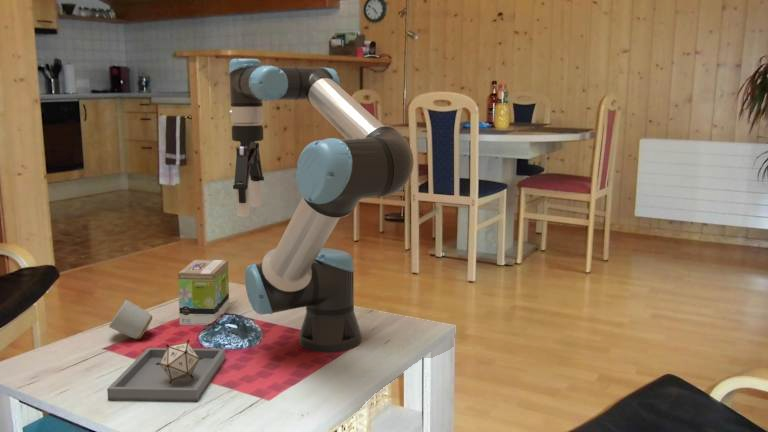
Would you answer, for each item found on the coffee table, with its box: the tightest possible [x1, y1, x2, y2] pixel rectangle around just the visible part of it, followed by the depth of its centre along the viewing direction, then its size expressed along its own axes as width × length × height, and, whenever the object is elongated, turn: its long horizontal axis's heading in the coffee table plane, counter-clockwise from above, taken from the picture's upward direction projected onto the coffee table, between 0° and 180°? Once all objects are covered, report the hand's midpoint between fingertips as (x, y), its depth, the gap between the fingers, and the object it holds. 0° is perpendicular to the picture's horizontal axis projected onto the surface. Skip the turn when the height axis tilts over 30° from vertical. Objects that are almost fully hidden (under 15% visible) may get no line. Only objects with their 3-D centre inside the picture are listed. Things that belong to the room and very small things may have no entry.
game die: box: [156, 338, 203, 383], centre depth 146 cm, size 9×8×10 cm
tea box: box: [177, 259, 230, 326], centre depth 187 cm, size 15×10×15 cm
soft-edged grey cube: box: [108, 299, 153, 340], centre depth 173 cm, size 11×8×8 cm
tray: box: [106, 347, 226, 403], centre depth 148 cm, size 18×22×2 cm
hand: (250, 211), depth 170 cm, fingers open, 13 cm apart
